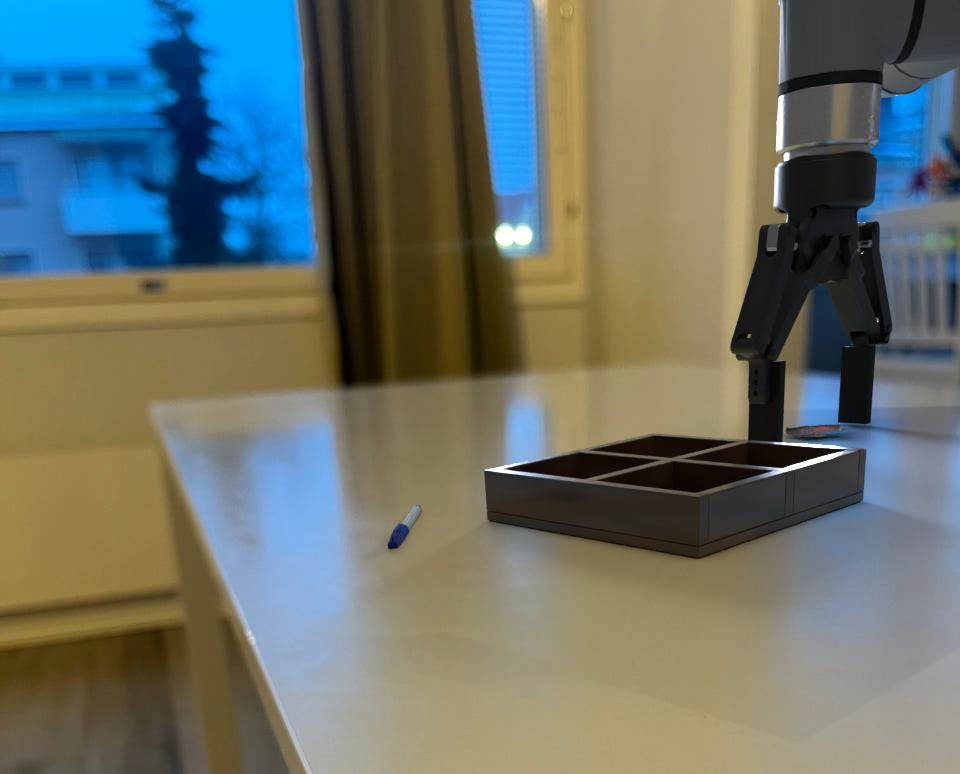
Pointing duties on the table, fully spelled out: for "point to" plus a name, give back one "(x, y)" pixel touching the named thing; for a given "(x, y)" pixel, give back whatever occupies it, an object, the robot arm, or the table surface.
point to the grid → (676, 490)
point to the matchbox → (814, 430)
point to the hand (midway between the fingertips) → (811, 434)
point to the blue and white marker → (403, 528)
